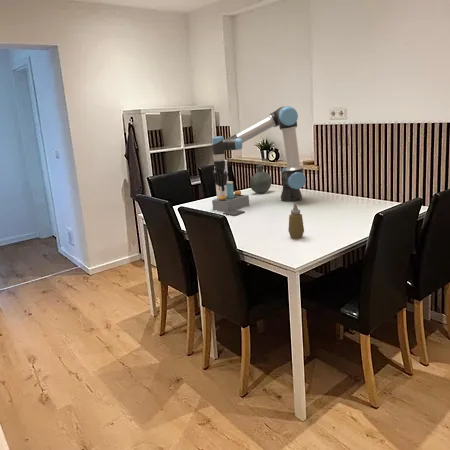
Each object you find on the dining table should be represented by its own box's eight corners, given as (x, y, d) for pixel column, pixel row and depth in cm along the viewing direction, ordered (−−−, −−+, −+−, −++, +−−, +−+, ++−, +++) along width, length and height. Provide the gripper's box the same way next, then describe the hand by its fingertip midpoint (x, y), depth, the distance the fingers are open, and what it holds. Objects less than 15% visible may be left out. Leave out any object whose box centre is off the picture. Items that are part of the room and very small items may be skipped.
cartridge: (236, 207, 304) (234, 181, 299) (231, 208, 300) (229, 182, 295) (230, 206, 307) (228, 181, 303) (225, 208, 304) (223, 182, 299)
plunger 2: (243, 203, 309) (242, 190, 307) (239, 204, 306) (238, 192, 304) (238, 202, 312) (237, 190, 310) (234, 204, 309) (233, 191, 307)
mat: (244, 212, 287) (244, 211, 287) (234, 216, 280) (234, 214, 280) (233, 211, 294) (233, 209, 293) (223, 214, 287) (223, 213, 286)
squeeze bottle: (287, 235, 231) (285, 202, 226) (302, 234, 232) (301, 201, 227) (290, 240, 223) (289, 205, 219) (306, 238, 224) (305, 204, 219)
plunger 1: (228, 208, 298) (227, 195, 296) (223, 210, 295) (222, 196, 292) (223, 207, 301) (222, 194, 299) (218, 209, 298) (217, 196, 295)
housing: (249, 205, 307) (248, 195, 305) (228, 212, 291) (227, 202, 290) (234, 203, 316) (233, 193, 314) (212, 210, 301) (212, 200, 299)
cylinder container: (228, 201, 324) (225, 160, 316) (215, 201, 326) (212, 161, 318) (230, 198, 333) (227, 158, 325) (218, 199, 335) (215, 159, 327)
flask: (250, 192, 349) (248, 165, 343) (271, 191, 349) (270, 163, 343) (251, 195, 338) (249, 167, 332) (273, 193, 337) (271, 165, 332)
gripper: (208, 160, 291) (211, 195, 297) (222, 161, 282) (225, 197, 289) (216, 159, 296) (218, 193, 302) (230, 159, 288) (233, 195, 294)
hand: (222, 195), depth 295 cm, fingers closed
